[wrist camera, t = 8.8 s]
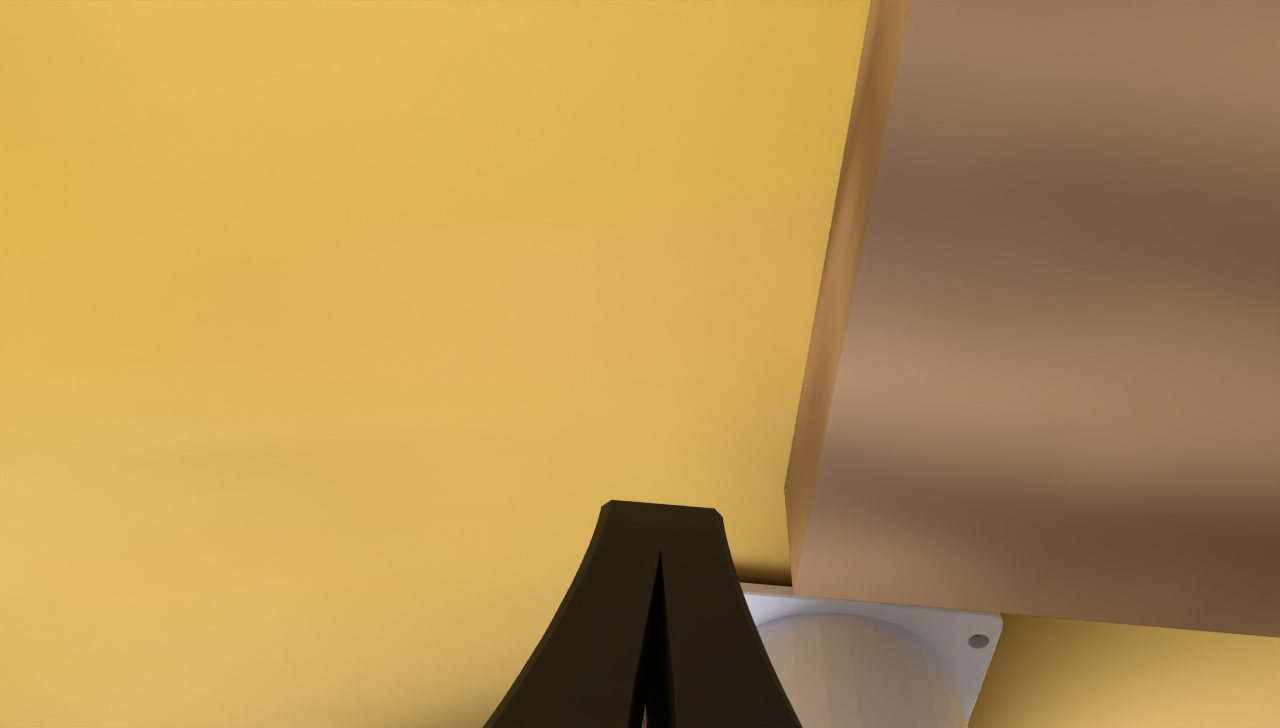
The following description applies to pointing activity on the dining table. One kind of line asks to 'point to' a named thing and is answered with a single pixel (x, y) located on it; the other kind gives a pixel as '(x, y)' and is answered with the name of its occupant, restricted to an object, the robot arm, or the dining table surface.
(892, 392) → the walnut riser
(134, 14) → the dining table surface
